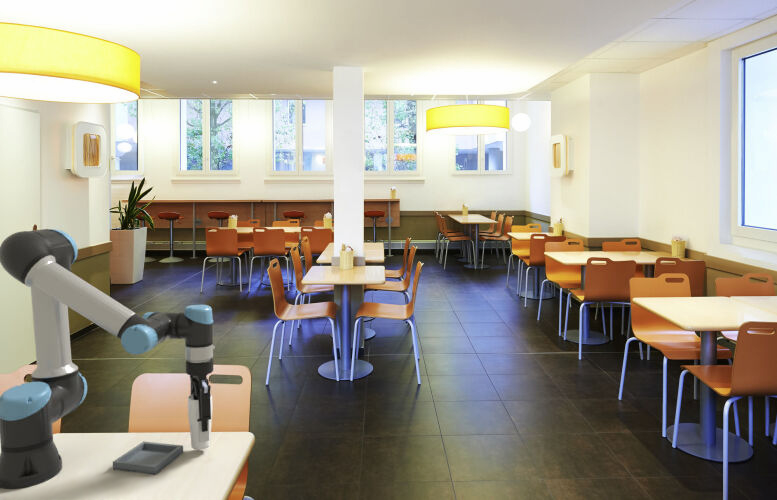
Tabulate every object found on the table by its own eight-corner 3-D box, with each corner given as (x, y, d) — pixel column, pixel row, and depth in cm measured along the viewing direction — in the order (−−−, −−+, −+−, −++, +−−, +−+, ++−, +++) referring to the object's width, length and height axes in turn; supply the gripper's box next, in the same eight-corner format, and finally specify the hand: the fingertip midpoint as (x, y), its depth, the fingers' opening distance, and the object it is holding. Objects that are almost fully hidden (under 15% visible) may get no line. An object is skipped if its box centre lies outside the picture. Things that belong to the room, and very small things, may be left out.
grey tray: (112, 469, 150) (112, 461, 149) (143, 448, 162) (143, 441, 162) (155, 474, 147) (154, 466, 147) (183, 452, 159) (183, 445, 159)
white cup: (205, 452, 156) (204, 401, 155) (183, 450, 158) (182, 399, 156) (217, 442, 163) (216, 393, 162) (196, 440, 164) (195, 391, 163)
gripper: (222, 365, 152) (223, 446, 154) (204, 349, 168) (205, 422, 170) (194, 370, 148) (195, 452, 150) (178, 352, 164) (180, 427, 166)
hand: (200, 436), depth 160 cm, fingers closed on white cup, 6 cm apart
